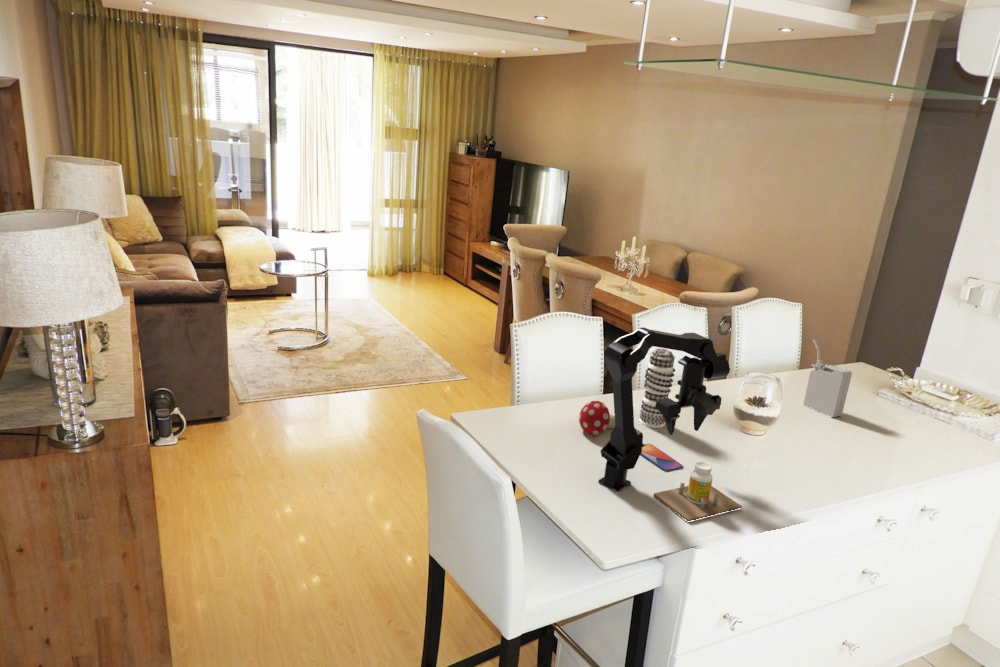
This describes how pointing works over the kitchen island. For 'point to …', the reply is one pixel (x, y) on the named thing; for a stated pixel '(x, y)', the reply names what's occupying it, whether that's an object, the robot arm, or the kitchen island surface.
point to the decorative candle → (656, 386)
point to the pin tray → (692, 511)
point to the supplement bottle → (700, 483)
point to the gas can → (827, 387)
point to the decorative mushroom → (596, 418)
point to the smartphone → (659, 458)
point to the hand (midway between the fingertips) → (683, 432)
